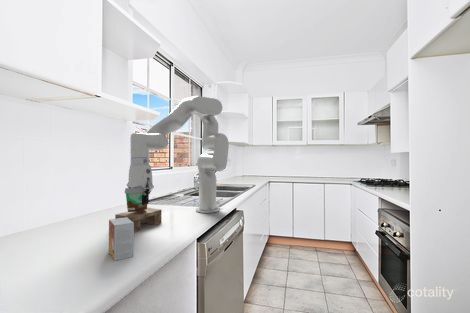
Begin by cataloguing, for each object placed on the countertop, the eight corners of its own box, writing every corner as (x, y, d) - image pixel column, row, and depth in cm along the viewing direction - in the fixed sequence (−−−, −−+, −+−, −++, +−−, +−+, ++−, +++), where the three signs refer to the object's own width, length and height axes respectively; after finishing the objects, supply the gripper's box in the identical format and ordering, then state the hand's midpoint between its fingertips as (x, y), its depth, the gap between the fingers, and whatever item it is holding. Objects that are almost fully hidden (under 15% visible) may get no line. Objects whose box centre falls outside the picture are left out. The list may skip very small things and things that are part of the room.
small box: (108, 252, 78) (108, 219, 77) (127, 248, 81) (127, 216, 81) (113, 261, 71) (113, 225, 71) (133, 256, 75) (134, 222, 74)
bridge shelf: (145, 219, 115) (145, 207, 115) (161, 222, 111) (161, 209, 111) (115, 229, 101) (115, 214, 101) (132, 232, 97) (132, 217, 97)
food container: (138, 213, 99) (137, 188, 99) (125, 212, 101) (124, 188, 101) (155, 206, 111) (155, 184, 111) (144, 206, 112) (143, 184, 112)
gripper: (161, 161, 105) (161, 203, 105) (133, 161, 113) (133, 200, 113) (147, 162, 99) (147, 207, 99) (118, 161, 106) (118, 203, 107)
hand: (139, 203), depth 106 cm, fingers open, 5 cm apart
